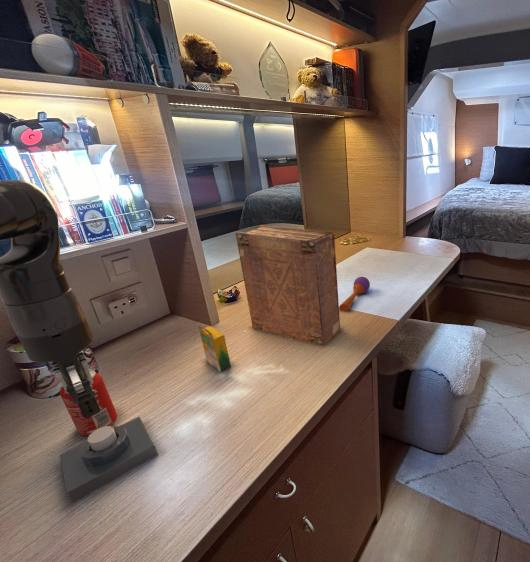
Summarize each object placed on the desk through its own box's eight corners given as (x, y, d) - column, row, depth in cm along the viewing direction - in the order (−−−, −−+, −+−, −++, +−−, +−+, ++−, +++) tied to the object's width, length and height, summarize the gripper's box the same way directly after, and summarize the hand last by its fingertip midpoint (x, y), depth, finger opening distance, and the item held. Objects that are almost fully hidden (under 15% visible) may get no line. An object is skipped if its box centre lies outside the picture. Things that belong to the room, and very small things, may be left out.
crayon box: (232, 368, 85) (223, 328, 80) (220, 374, 83) (210, 333, 78) (218, 357, 89) (208, 318, 85) (206, 363, 87) (196, 323, 82)
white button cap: (93, 455, 56) (89, 446, 55) (89, 443, 59) (85, 434, 58) (119, 442, 59) (115, 433, 58) (114, 431, 61) (111, 422, 60)
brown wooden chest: (252, 329, 102) (234, 232, 90) (272, 316, 110) (258, 224, 98) (324, 347, 92) (314, 241, 81) (340, 331, 100) (334, 232, 88)
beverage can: (115, 410, 72) (96, 363, 68) (121, 426, 68) (101, 377, 63) (77, 426, 68) (55, 378, 64) (81, 444, 64) (57, 394, 59)
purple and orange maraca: (333, 300, 110) (355, 274, 127) (338, 316, 112) (359, 288, 129) (349, 300, 108) (369, 273, 125) (354, 315, 110) (373, 287, 127)
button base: (74, 505, 53) (62, 483, 51) (65, 467, 60) (54, 446, 58) (159, 457, 61) (151, 436, 59) (143, 427, 68) (136, 408, 66)
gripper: (14, 317, 52) (58, 406, 58) (17, 350, 43) (68, 450, 50) (77, 301, 57) (110, 384, 63) (91, 327, 48) (128, 421, 55)
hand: (92, 413), depth 56 cm, fingers closed
